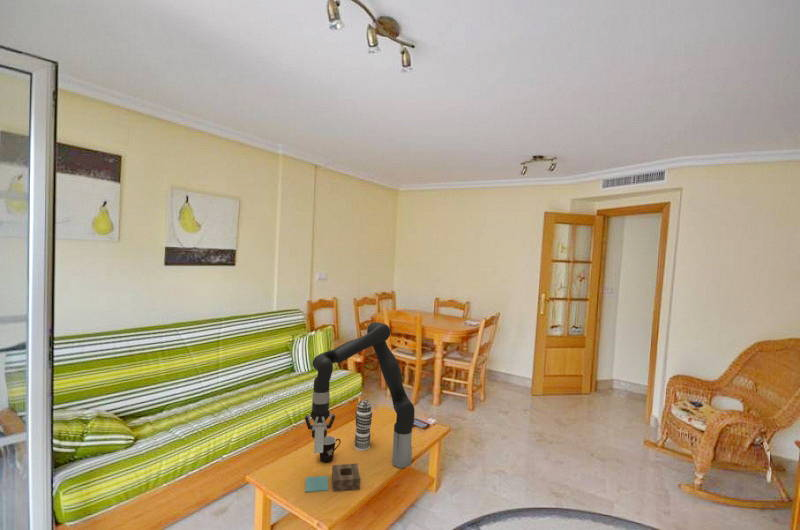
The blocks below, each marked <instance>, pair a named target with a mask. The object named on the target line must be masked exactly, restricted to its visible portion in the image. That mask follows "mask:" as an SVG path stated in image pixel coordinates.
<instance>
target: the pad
mask: <svg viewBox="0 0 800 530" xmlns="http://www.w3.org/2000/svg"><path fill="white" fill-rule="evenodd" d="M304 489H305V490H304V492H305V493H317V492H328V491H329V475H319V476H318V475H317V476H307V477H305V488H304Z"/></svg>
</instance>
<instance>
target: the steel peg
mask: <svg viewBox="0 0 800 530" xmlns="http://www.w3.org/2000/svg"><path fill="white" fill-rule="evenodd" d="M313 441H314V445H313V446H314V447H313V454H320V453H323V443H324V426H323V423H317V424H316V426H315V438H314V440H313Z"/></svg>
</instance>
